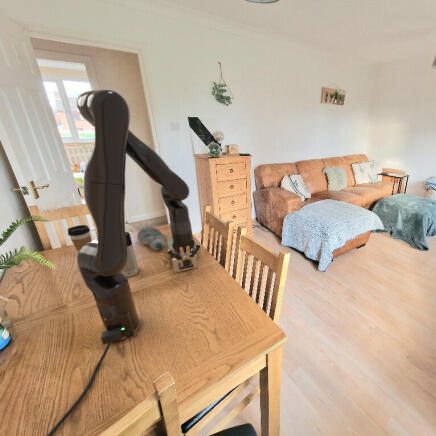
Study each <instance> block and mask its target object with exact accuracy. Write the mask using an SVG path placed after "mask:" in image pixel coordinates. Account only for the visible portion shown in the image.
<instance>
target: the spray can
mask: <svg viewBox="0 0 436 436" xmlns="http://www.w3.org/2000/svg"><path fill="white" fill-rule="evenodd" d="M125 235H126V244H127V262H126V265H125V267H124V269H123V270H122V271H121V272H122V273H123V274H124V275H126V277H127V278H129V277H134V276H136V275H137V274H138V273H139V270H140V269H139V264H138V261H137V257H136V253H135V248H134V245H133V241H132V238H131V234H130V232H129V231H125Z"/></svg>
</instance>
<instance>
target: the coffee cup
mask: <svg viewBox="0 0 436 436" xmlns="http://www.w3.org/2000/svg"><path fill="white" fill-rule="evenodd" d="M90 231H91V229H90V227H89V226H88V225H87V224H83V225H82V224H81V225H75V226H71V227H69V228H67V235H68V236H69V237H70V240H71V242H72V244H73V246H74V248H75V250H76V252H77V254H78V253H79V251H80V249H81V248H82V247H83V246H84V245H85V244H87V243H89V242H92V236H91V233H90Z"/></svg>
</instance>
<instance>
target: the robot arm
mask: <svg viewBox="0 0 436 436" xmlns="http://www.w3.org/2000/svg"><path fill="white" fill-rule="evenodd" d="M76 107H77V111H78V112H79V115H81V117H82V118H83V119H84V120H85V121H86V122H87V123H89V124H90V126H92V127H93V128H94V144H93V148H92V152H91V154H90V156H89V159H88V161H87V164H86V166H85V169H84V174H83V195H84V196H83V197H84V202H85V205H86V208H87V210H88V212H89V214H90V216H91V218H92V220H93V222H94V225H95V228H96V232H97V240H93V241H92V242H89V243H87V244H85V245H84V246H83V247H82V248H81V249H80V251H79V253H78V252H77V256H76V262H77V267H78V270H79V272H80V274H81V277H82V280H83V282H84V284H85V286H86V287H87V289H88V290H89V291H90V292H91V293H92V296H93V299H94V301H95V304H96V307H97V308H96V309H97V310H98V313H99V317H100V320H101V322H102V325H103V329H104V330H105V331H102V332H101V336H100V340H101V343H102V345H103V346H104V345H106V347H105V349H104V350H103V353H102V355H101V357H100V359H99V360H98V362H97V365H96V366H95V368H94V371H93V373H92V375H91V378H89V382H87V385H86V387H85V389H84V390H83V391H82V393H81V394H80V395H79V397H78V398H77V399H76V401H75V402H74V403H73V404H72V406H71V407H70V408H69V409H68V410H67V412H65V414H64V415H63V416H62V417H61V418H60V420H59V421H58V422H57V424H55V426H54V427H53V428H52V430H51V431H49V433H48V434H47V435H46V436H53V434H54V433H55V432H56V431H57V430H58V428H59V427H60V426H61V425H62V424H63V423H64V421H65V420H66V419H67V417H68V416H69V415H70V414H71V413H72V412H73V411H74V409H75V408H76V407H77V406H78V405H79V403H80V402H81V401H82V399H83V398H84V397H85V395H86V394H87V392H88V391H89V390H90V388H91V385H92V384H93V382H94V380H95V377H96V374H97V373H98V370H99V369H100V366H101V365H102V363H103V360H104V359H105V357H106V354H107V353H108V351H109V348H110V346H111V344H113V343H117V342H120V341H123V340H127V339H129V338H132V337H135V333H136V332H137V331H139V329H140V327H141V321H140V319H139V315H138V311H137V307H136V304H135V301H134V297H133V294H132V290H131V286H130V282H129V279H128V278H129V277H126V275H124V274H123V273H122V272H121V271H122V270H123V269H124V267H125V265H126V262H127V244H126V235H125V232H126V210H125V209H126V187H127V185H126V166H127V164H126V163H127V156H128V157H129V158H130V159H131V160H132V161H133V162H134V163H135V164H136V165H137V166H138V167H139V168H140V169H141V170H142V172H144V174H146V175H147V176H148V177H149V179H151V180H152V181H153V182H155V183H156V184H158V185H160V194H161V195H160V196H161V197H162V199H163V202H164V205H165V207H166V209H167V212H168V217H169V218H168V219H169V227H170V235H171V237H172V240H173V244H172V247H171V248H170V249H169V248H167V254H168V255H169V256H170V255H171V256H173V257H174V258H176V259H177V260H182V261H183V266H185V267H189V265H190V258H191V257H194V256H195V254H196V255H197V253H198V251H199V250H200V249H201V244H200V243H199V242H196V241H195V239H194V237H193V230H192V223H191V219H190V212H189V208H188V205H187V204H185V202H183V201H184V200H186V199H188V197H190V191H191V190H190V187H189V185H188V183H186V181H185V180H184V179H182V178H181V177H180V176H179V174H177V173H176V172H175V171H173V170H172V169H171V168H170V167H169V165H168V164H167V162H166V161H165V160H164V159H163V158H162V156H160V155H159V154H158V152H157V151H155V150H154V148H152V147H150V146H149V145H148V144H147V143H145V142H144V141H142V140H141V138H139V137H138V136H137V135H135V133H133V131H131V129H129V128H130V123H131V110H130V107H129V104H128V102H127V101H126V99H125V98H124V97H123V95H121V94H120V93H118V92H117V91H115V90H111V89H94V90H88V91H84V92H82V93H80V94H79V95H78V97H77V99H76ZM193 246H194V248H193V250H192V251H191V253H190V250H191V249H192V247H193ZM174 249H175V250H176V251H177V252H179V253H181V256H180V255H179V254H177V253H176V252H175V250H174ZM184 252H186V258H185V255H184Z"/></svg>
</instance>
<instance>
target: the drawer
mask: <svg viewBox="0 0 436 436" xmlns="http://www.w3.org/2000/svg"><path fill="white" fill-rule="evenodd" d="M192 250H193V248H192V249H191V250H190V253H191V251H192ZM175 252H176V253H177V254H179V255H181V253H179V252H177V251H176V250H175ZM184 254H186V252H184ZM173 258H174V257H173ZM185 258H186V256H185ZM172 262H173V265H172V268H173V272H174V273H179V272H184V271H187V270H192V269H197V268H199V264H198V258H197V253H196V254H195V256H194V257H191V258H190V265H189V267H185V266H183V261H182V260H177V259H176V258H174V259H172Z"/></svg>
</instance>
